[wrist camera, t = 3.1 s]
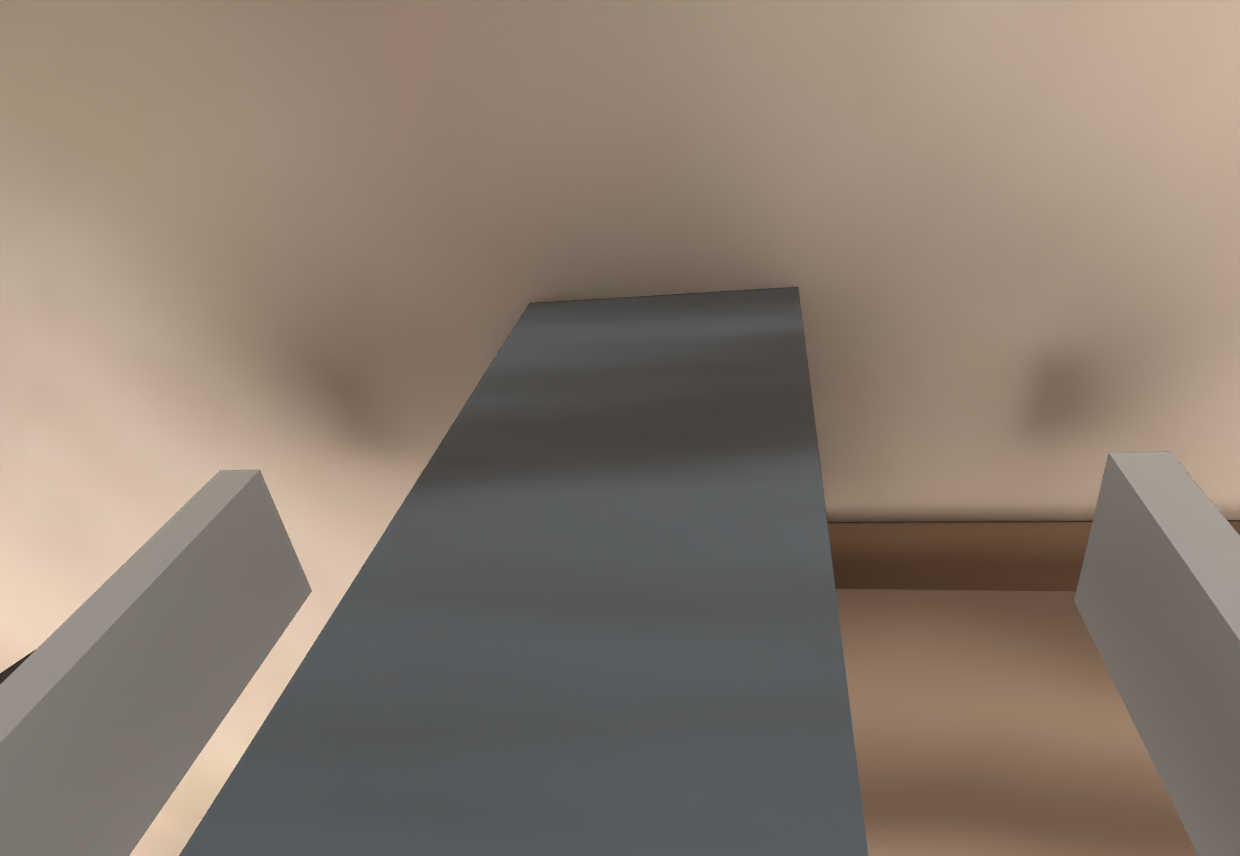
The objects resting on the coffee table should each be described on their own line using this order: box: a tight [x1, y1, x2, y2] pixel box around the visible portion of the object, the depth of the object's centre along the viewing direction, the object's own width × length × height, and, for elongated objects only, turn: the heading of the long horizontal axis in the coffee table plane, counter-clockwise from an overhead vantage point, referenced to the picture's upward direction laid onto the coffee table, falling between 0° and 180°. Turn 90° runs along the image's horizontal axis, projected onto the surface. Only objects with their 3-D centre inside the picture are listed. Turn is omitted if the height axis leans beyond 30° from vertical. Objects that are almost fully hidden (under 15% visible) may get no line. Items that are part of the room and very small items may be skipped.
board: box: [827, 521, 1240, 856], centre depth 18 cm, size 12×22×2 cm, turn 97°
